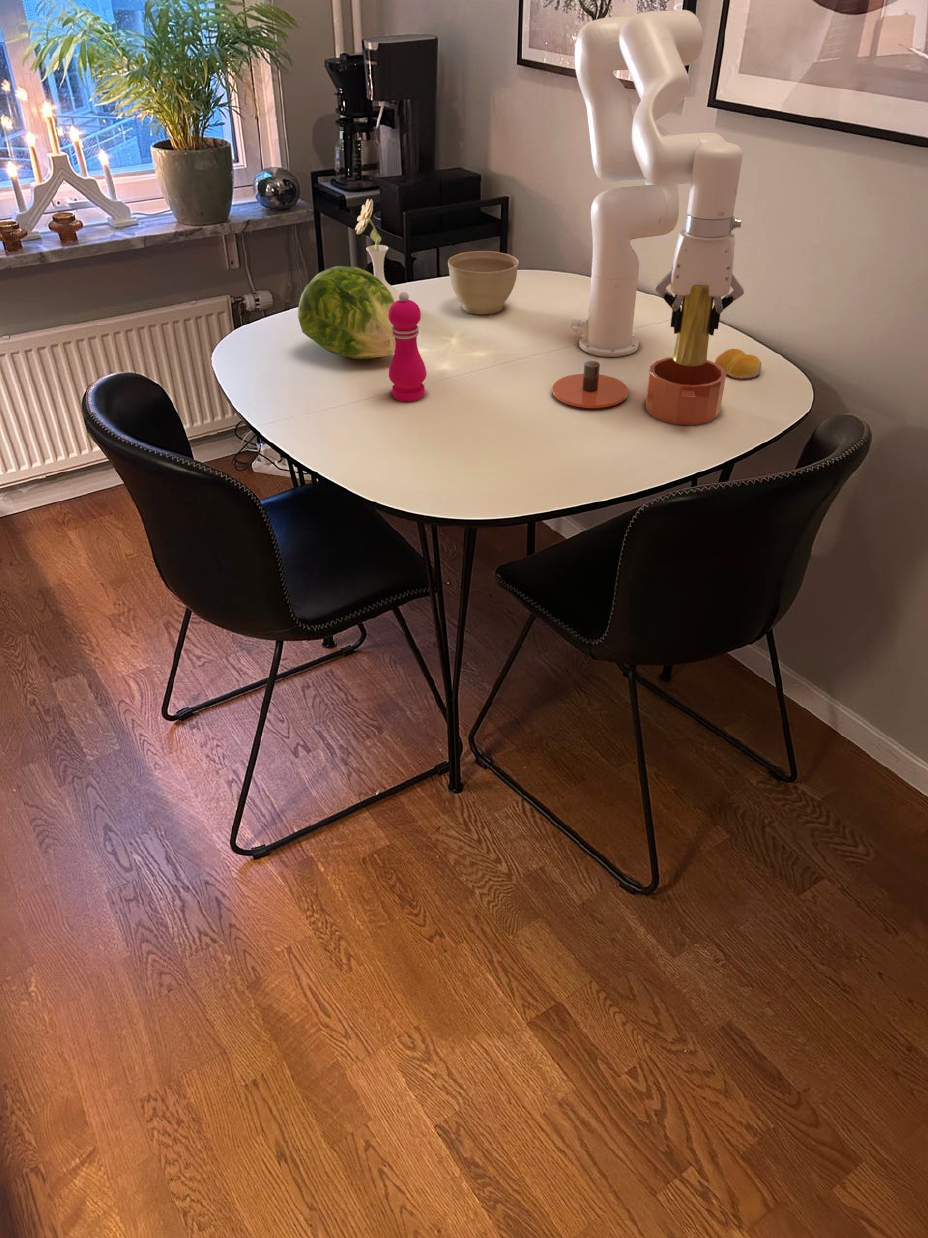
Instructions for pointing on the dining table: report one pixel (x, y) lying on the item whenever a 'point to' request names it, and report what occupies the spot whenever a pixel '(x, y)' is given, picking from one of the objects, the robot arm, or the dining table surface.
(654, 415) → the crock
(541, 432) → the dining table surface
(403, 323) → the pepper mill
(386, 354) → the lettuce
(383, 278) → the flower in vase
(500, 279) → the planter bowl
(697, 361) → the vase
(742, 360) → the bread roll
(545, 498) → the dining table surface
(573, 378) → the crock lid
